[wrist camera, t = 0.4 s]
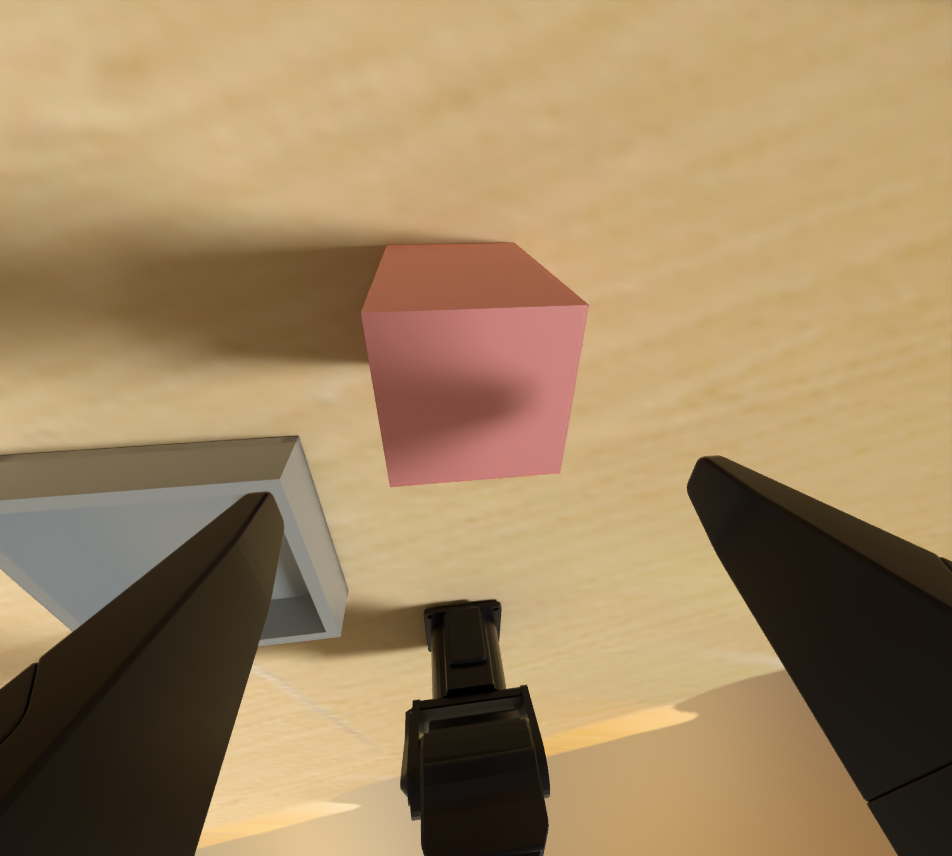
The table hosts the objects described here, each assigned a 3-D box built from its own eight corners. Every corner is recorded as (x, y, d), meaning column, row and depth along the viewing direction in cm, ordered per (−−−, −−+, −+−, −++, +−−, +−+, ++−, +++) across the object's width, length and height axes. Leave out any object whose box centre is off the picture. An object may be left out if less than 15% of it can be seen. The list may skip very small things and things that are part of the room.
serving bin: (348, 590, 29) (340, 636, 26) (141, 612, 28) (110, 664, 25) (298, 436, 21) (279, 479, 18) (-1, 455, 19) (-73, 506, 17)
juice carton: (508, 358, 20) (560, 473, 13) (401, 363, 19) (389, 486, 12) (514, 242, 17) (589, 305, 9) (386, 244, 16) (360, 312, 9)
